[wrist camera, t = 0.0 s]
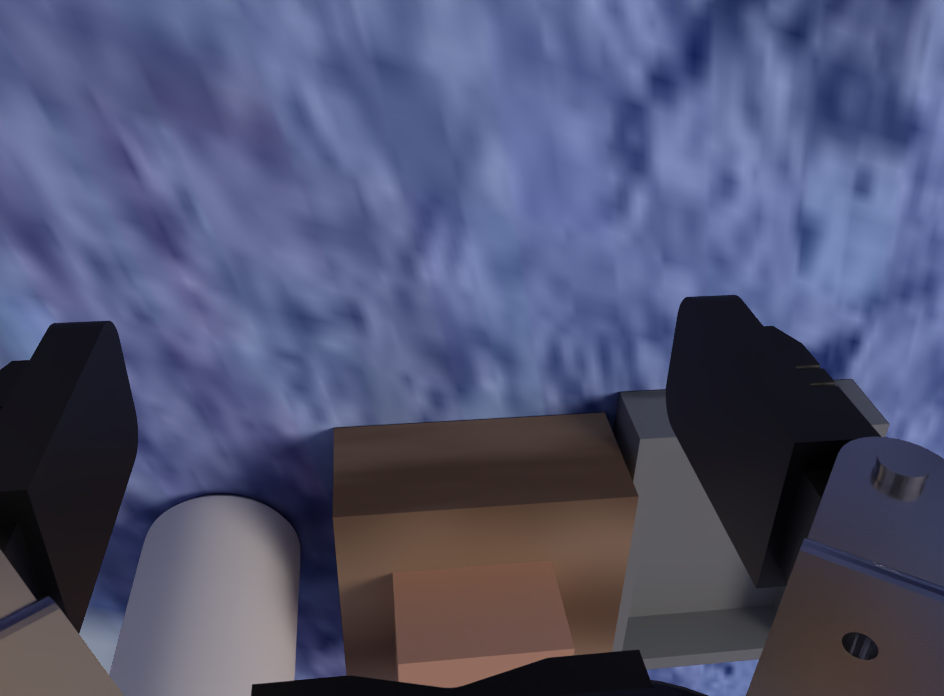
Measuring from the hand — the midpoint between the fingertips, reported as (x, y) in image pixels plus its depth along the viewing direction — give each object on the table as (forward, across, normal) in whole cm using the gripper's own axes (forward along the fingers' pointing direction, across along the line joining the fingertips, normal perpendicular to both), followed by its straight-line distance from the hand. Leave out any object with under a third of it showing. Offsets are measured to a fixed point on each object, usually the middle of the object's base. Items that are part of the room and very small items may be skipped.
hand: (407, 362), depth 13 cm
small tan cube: (+13, -3, +20) cm, 24 cm away
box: (+18, -14, +20) cm, 31 cm away
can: (+18, +7, +20) cm, 28 cm away
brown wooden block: (+18, -3, +20) cm, 27 cm away
